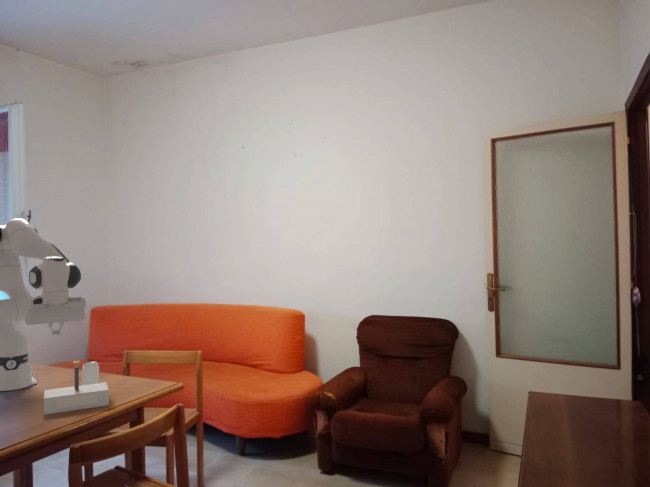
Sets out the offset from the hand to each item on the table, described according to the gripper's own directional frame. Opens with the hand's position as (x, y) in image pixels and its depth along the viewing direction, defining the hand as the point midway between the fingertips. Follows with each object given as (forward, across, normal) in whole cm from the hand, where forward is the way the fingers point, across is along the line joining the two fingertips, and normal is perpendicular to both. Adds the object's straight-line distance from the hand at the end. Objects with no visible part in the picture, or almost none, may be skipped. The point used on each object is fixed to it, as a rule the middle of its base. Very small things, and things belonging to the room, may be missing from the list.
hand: (56, 334), depth 190 cm
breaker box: (+28, -7, +1) cm, 29 cm away
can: (+28, -13, -18) cm, 36 cm away
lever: (+22, -7, +1) cm, 23 cm away
